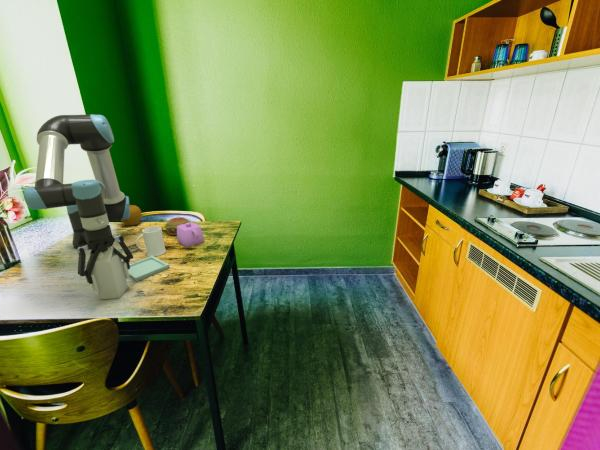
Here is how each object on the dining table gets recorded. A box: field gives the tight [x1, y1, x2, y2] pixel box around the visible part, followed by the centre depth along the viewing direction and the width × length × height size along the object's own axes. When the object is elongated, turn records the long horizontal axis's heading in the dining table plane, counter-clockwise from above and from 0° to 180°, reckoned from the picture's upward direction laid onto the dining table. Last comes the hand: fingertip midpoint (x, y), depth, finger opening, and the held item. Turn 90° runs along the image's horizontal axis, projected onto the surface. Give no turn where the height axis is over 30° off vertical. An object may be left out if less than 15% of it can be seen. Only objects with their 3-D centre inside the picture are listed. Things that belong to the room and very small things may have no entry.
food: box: [164, 216, 192, 236], centre depth 168 cm, size 14×14×8 cm
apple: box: [120, 204, 142, 226], centre depth 180 cm, size 13×13×11 cm
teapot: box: [176, 221, 204, 248], centre depth 155 cm, size 18×10×10 cm, turn 44°
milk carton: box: [92, 245, 129, 300], centre depth 109 cm, size 7×7×19 cm
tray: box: [128, 256, 171, 283], centre depth 128 cm, size 14×14×2 cm
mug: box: [135, 225, 167, 257], centre depth 141 cm, size 12×8×12 cm
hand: (112, 283), depth 110 cm, fingers closed on milk carton, 10 cm apart
